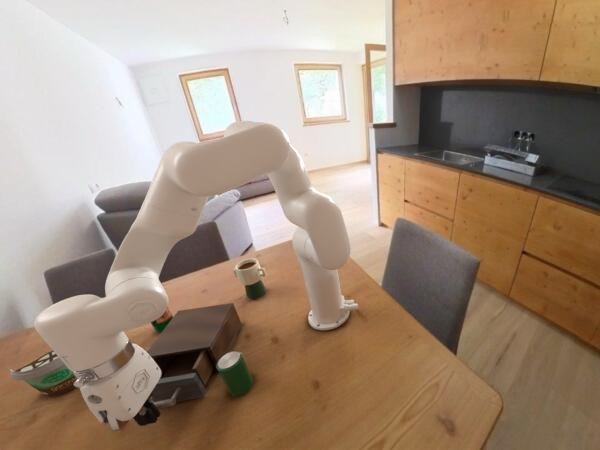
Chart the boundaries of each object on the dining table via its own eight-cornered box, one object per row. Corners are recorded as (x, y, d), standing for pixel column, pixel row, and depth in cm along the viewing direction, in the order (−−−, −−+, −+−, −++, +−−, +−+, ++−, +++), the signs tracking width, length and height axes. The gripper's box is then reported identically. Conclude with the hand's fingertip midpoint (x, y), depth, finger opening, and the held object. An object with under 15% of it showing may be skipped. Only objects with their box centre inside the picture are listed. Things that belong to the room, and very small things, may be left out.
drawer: (196, 414, 61) (184, 394, 58) (127, 427, 59) (111, 407, 56) (228, 345, 77) (220, 327, 74) (175, 354, 75) (164, 336, 72)
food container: (39, 412, 64) (10, 384, 59) (33, 398, 67) (5, 371, 62) (109, 369, 73) (89, 343, 68) (102, 359, 76) (82, 333, 71)
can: (255, 373, 70) (244, 348, 66) (249, 393, 65) (237, 367, 61) (233, 377, 69) (221, 352, 65) (225, 398, 65) (211, 372, 61)
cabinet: (221, 370, 71) (209, 346, 67) (158, 381, 69) (142, 357, 65) (242, 324, 85) (233, 302, 81) (189, 332, 83) (178, 310, 79)
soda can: (165, 334, 83) (147, 303, 78) (151, 332, 84) (133, 302, 79) (180, 322, 87) (164, 292, 82) (167, 320, 88) (150, 290, 83)
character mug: (276, 287, 101) (267, 257, 95) (267, 301, 94) (257, 269, 89) (247, 288, 101) (236, 258, 95) (236, 301, 95) (224, 270, 89)
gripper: (95, 396, 43) (147, 458, 51) (154, 324, 56) (188, 382, 64) (38, 406, 42) (101, 468, 50) (112, 330, 55) (152, 389, 63)
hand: (150, 419), depth 57 cm, fingers closed
